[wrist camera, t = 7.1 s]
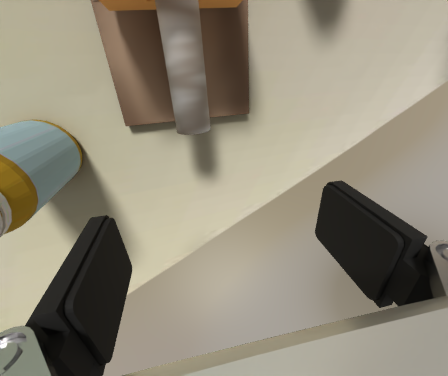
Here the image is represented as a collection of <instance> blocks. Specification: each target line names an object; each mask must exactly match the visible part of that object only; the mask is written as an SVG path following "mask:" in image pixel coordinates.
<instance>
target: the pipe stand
mask: <svg viewBox="0 0 448 376" xmlns="http://www.w3.org/2000/svg"><path fill="white" fill-rule="evenodd" d="M91 3H92V6H93V10H94V13H95V17H96V21H97V24H98V28H99V31H100V35H101V39H102V42H103V46H104V50H105V53H106V57H107V60H108V64H109V68H110V71H111V75H112V78H113V82H114V86H115V89H116V93H117V96H118V100H119V104H120V107H121V111H122V114H123V118H124V122H125V125H126V126H133V125H142V124H152V123H161V122H171V121H175V122H176V128H177V133H179V134H184V135H191V134H200V133H204V132H207V131H209V130H210V129H211V128H210V118H209V117H219V116H228V115H238V114H248V113H249V66H248V0H242V1H241V3H240V4H239V5H238V6H237V7H230V8H199V2H198V0H155V4H156V10H122V11H109V10H108V9H107V8H106V7H105V6H104V5H103V4H102V3H101V2H100V1H99V0H91Z"/></svg>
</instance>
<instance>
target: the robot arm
mask: <svg viewBox="0 0 448 376" xmlns="http://www.w3.org/2000/svg"><path fill="white" fill-rule="evenodd" d="M315 234H316V237H317V238H318V240H319V241H320V242H321V243H322V244H323V245H324V247H325V248H326V249H327V250H328V251H329V253H330V254H331V255H332V256H333V257H334V259H336V261H337V262H338V263H339V264H340V266H341V267H342V268H343V269H344V270H345V272H346V273H347V274H348V275H349V276H350V277H351V279H352V280H353V281H354V282H355V283H356V285H357V286H358V287H359V288H360V289H361V290H362V291H363V293H364V294H365V295H366V296H367V297H368V298H369V299H371V300H373V301H374V302H375V303H376V304H377V306H378V307H379V308H381V307H385V306H389V305H392V303H393V301H394V302H395V303H396V304H397V305H398V307H395V308H390V309H386V310H382V311H378V312H374V313H370V314H365V315H361V316H357V317H353V318H349V319H345V320H341V321H336V322H332V323H328V324H324V325H320V326H316V327H312V328H308V329H304V330H300V331H296V332H292V333H288V334H284V335H279V336H275V337H271V338H267V339H263V340H260V341H255V342H252V343H247V344H244V345H239V346H235V347H231V348H227V349H223V350H219V351H215V352H212V353H208V354H204V355H200V356H196V357H192V358H188V359H184V360H180V361H176V362H172V363H168V364H164V365H160V366H156V367H152V368H149V369H145V370H141V371H138V372H134V373H130V374H127V375H123V376H448V241H443V240H441V241H434V242H432V243H431V244H430V245H429V247H428V246H426V245H425V244H424V242H425V241H426V239H427V236H426V235H424V234H423V233H421V232H420V231H418V230H417V229H415V228H414V227H412V226H410V225H409V224H408V223H406V222H404V221H403V220H401V219H400V218H398V217H397V216H395V215H394V214H392V213H391V212H389V211H388V210H386V209H384V208H383V207H381V206H380V205H378V204H377V203H375V202H374V201H372V200H371V199H369V198H368V197H366V196H365V195H363V194H361V193H360V192H358V191H357V190H355V189H353V188H352V187H351V186H349V185H348V184H346V183H345V182H343V181H335V182H329V183H327V185H326V186H325V187H324V188H323V192H322V198H321V203H320V208H319V213H318V219H317V224H316V229H315ZM131 274H132V265H131V262H130V259H129V256H128V254H127V251H126V249H125V246H124V243H123V241H122V238H121V235H120V233H119V230H118V228H117V225H116V222H115V220H114V219H113V218H109V217H108V216H107V215H106V216H99V217H92V218H91V219H90V220H89V221H88V223H87V225H86V226H85V228H84V230H83V231H82V233H81V234H80V236H79V238H78V239H77V241H76V243H75V244H74V246H73V248H72V249H71V251H70V253H69V254H68V256H67V257H66V259H65V261H64V262H63V264H62V266H61V267H60V269H59V271H58V272H57V274H56V276H55V277H54V279H53V280H52V282H51V284H50V285H49V287H48V289H47V290H46V292H45V294H44V295H43V297H42V298H41V300H40V302H39V303H38V305H37V307H36V308H35V310H34V312H33V313H32V315H31V317H30V318H29V320H28V322H27V323H26V325H25V326H18V327H13V328H10V329H8V330H5V331H3V332H1V333H0V376H102V375H103V373H104V369H105V365H106V363H109V362H110V360H111V358H112V355H113V351H114V347H115V342H116V338H117V333H118V330H119V325H120V321H121V317H122V312H123V308H124V304H125V299H126V295H127V291H128V287H129V283H130V278H131Z"/></svg>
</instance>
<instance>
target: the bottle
mask: <svg viewBox="0 0 448 376" xmlns="http://www.w3.org/2000/svg"><path fill="white" fill-rule="evenodd" d="M81 164H82V152H81V149H80V147H79V145H78V143H77V141H76V140H75V139H74V138H73V137H72V136H71V134H69V133H68V132H67V131H65V130H64V129H63V128H61V127H60V126H58V125H55V124H53V123H50V122H47V121H42V120H28V121H22V122H18V123H14V124H11V125H7V126H4V127H0V237H1V236H2V235H3V234H6V233H8V232H11V231H13V230H15V229H17V228H19V227H21V226H22V225H23V224H25V223H26V222H27V221H28V220H29V219H30V218H31V217H32V216H33V215H34V214H35V213H36V212H38V211H39V210H40V209H41V208H42V207H43V206H44V205H45V204H46V203H47V202H48V201H49V200H50V199H51V198H52V197H53V196H54V195H55V194H56V193H57V192H58V191H59V190H60V189H61V188H62V187H63V186H64V185H65V184H66V183H67V182H68V181H70V180H71V179H72V178H73V177H74V175H75V174H76V173H77V172H78V171H79V169H80V167H81Z"/></svg>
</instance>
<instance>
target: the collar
mask: <svg viewBox="0 0 448 376" xmlns="http://www.w3.org/2000/svg"><path fill="white" fill-rule="evenodd" d="M99 1H100V2H101V3H102V4H103V5H104V6H105V7H106V8H107V9H108V10H109V11H122V10H156V4H155V0H99ZM241 1H242V0H198V2H199V8H230V7H237V6H238V5H239V4H240V3H241Z"/></svg>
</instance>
